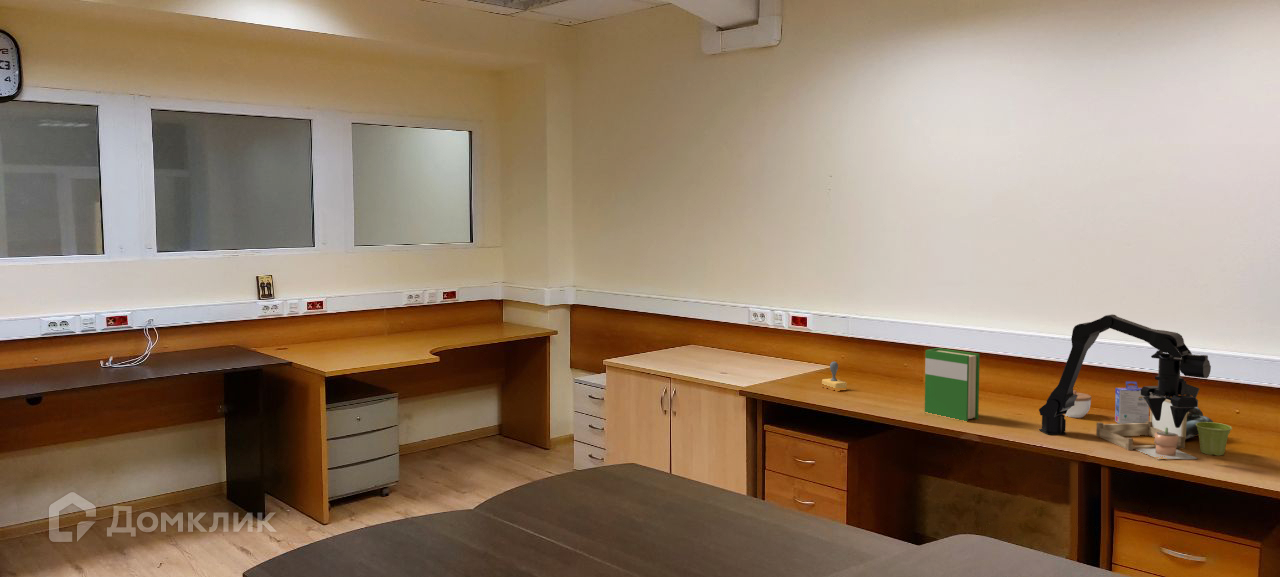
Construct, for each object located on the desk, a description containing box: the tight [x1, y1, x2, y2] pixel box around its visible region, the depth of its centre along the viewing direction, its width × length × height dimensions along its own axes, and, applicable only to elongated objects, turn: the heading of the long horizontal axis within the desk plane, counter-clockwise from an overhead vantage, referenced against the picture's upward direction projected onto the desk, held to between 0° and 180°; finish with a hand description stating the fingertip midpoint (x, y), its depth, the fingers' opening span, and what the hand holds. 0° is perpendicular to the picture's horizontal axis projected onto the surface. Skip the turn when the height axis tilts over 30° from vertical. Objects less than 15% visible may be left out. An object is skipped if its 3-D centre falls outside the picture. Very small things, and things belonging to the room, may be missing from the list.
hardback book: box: [924, 347, 981, 422], centre depth 320 cm, size 18×7×24 cm, turn 35°
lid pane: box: [1149, 399, 1187, 440], centre depth 282 cm, size 1×16×11 cm, turn 3°
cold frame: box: [1095, 420, 1186, 451], centre depth 282 cm, size 18×17×5 cm
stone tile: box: [1135, 448, 1198, 460], centre depth 267 cm, size 12×11×1 cm
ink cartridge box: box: [1114, 380, 1150, 424], centre depth 306 cm, size 10×6×14 cm, turn 78°
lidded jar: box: [1064, 389, 1092, 419], centre depth 318 cm, size 11×11×9 cm
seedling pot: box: [1153, 427, 1178, 456], centre depth 267 cm, size 6×6×8 cm
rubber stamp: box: [821, 361, 847, 389], centre depth 372 cm, size 10×6×12 cm, turn 25°
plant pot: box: [1196, 421, 1233, 456], centre depth 268 cm, size 9×9×9 cm
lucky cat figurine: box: [1185, 406, 1214, 440], centre depth 287 cm, size 15×12×14 cm
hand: (1167, 424), depth 266 cm, fingers open, 9 cm apart
